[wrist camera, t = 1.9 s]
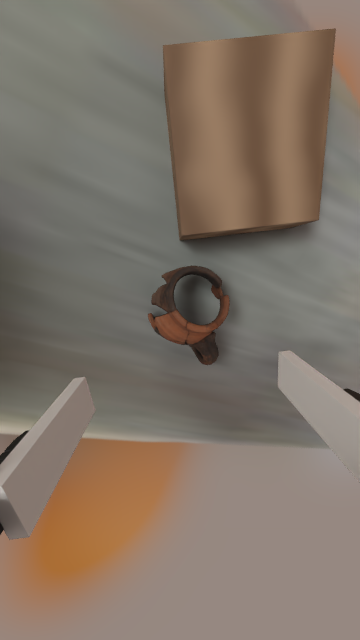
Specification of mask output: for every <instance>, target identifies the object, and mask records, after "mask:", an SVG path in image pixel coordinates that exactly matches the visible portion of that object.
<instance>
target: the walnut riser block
mask: <svg viewBox="0 0 360 640" xmlns="http://www.w3.org/2000/svg"><path fill="white" fill-rule="evenodd" d="M335 31H336V29H326V30H316V31H305V32H295V33H285V34H275V35H264V36H254V37H244V38H234V39H224V40H213V41H203V42H193V43H183V44H172V45H163V60H164V92H165V103H166V113H167V122H168V132H169V142H170V151H171V161H172V171H173V180H174V190H175V200H176V209H177V219H178V229H179V238H180V240H189V239H197V238H206V237H215V236H224V235H232V234H241V233H250V232H259V231H267V230H276V229H285V228H292V227H296V226H299V225H303V224H306V223H310V222H313V221H317V220H319V212H320V200H321V189H322V178H323V167H324V155H325V144H326V133H327V122H328V111H329V99H330V88H331V77H332V66H333V54H334V42H335Z"/></svg>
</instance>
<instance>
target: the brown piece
mask: <svg viewBox="0 0 360 640" xmlns="http://www.w3.org/2000/svg"><path fill="white" fill-rule="evenodd" d="M191 274H192V275H199V276H202V277H204V278H206V279H207V280H209V281H210V282H211V283H212V284H213V285H212V288H211V291H212V293H213V294H214V295H215V297H216V298H217V299H220V311H219V314H218V316H217V317H216V319H215V320H214V321H212V322H211V323H209V324H206V325H196V324H193V323H191V322H189V321H187V320H186V319H185V318H183V317H182V315H181V314H180V313H179V311H178V310H177V309H176V306H175V303H174V298H173V294H174V288H175V285H176V283H177V282H178V281H179V280H180V279H181V278H182V277H184V276H186V275H191ZM162 278H164V279H165V281H166V282H167V284H165V285H162V286H161V287H159V288H158V289H157V291H156V293H154V294H153V295H152V301H151V302H152V304H153V305H157V306H159V307H161V308H162V309H164V310H165V311H166V312H168V313H167V314H164V315H162V316H158V317H155V320H154V318H153V315H152V314H151V313H150V314H148V318H149V321H150V323H151V325H152V327H153V329H154V330H155V332H156V333H158V334H159V335H161V336H162V337H163V338H165V339H167V340H169V341H172V342H174V343H177V344H181V345H185V344H186V345H190V346H191V347H192V349H193V351H194V353H195V355H196V356H197V358H198V359H199V361H200V362H201V363H202V364H205V365H211V364H212V363H213V362H215V361H216V360H217V357H218V348H217V345H216V343H215V334H216V333H215V332H213V330H215V329H217V328H218V327H219V326H220V325H221V324H222V323H223V321H224V320H225V319H226V317H227V315H228V311H229V305H230V304H229V296H228V295H225V296H223V293H222V290H221V288H220V287H221V286H222V280H221V279H220V278H219V276H217V275H216V274H215V273H214V272H212V271H211V270H209V269H207V268H204V267H200V266H199V267H198V266H187V267H182V268H178V269H176V270H173V271H170V272H168V273H165V274H164V275H162Z"/></svg>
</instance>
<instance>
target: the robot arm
mask: <svg viewBox="0 0 360 640" xmlns="http://www.w3.org/2000/svg"><path fill="white" fill-rule="evenodd" d="M278 388H279V389H280V390H281V391H282V392H283V393H284V395H285V396H286V397H287V398H288V399H289V400H290V402H291V403H292V404H293V405H294V406H295V408H296V409H297V410H298V411H299V412H300V413H301V415H302V416H303V417H304V418H305V419H306V420H307V422H308V423H309V424H310V425H311V426H312V427H313V429H314V430H315V431H316V432H317V433H318V434H319V436H320V437H321V438H322V439H323V440H324V441H325V443H326V444H327V445H328V446H329V447H330V448H331V450H332V451H333V452H334V453H335V454H336V455H337V456H338V458H339V459H340V460H341V461H342V462H343V464H344V465H345V466H346V467H347V468H348V470H349V471H351V473H352V474H353V475H354V477H355V478H356V479H357V480H358V481H359V482H360V394H359V393H357V392H354V391H352V390H350V389H341V388H340V387H339V386H337V385H336V384H335V383H333V382H332V381H331V380H329V379H328V378H327V377H325V376H324V375H322V374H321V373H320V372H318V371H317V370H316V369H314V368H313V367H312V366H310V365H309V364H308V363H306V362H305V361H304V360H302V359H301V358H299V357H298V356H297V355H295V354H294V353H293V352H291V351H282V352H279V360H278ZM94 412H95V407H94V404H93V400H92V397H91V394H90V391H89V387H88V384H87V381H86V377H81V378H74V379H73V380H72V381H71V383H70V384H69V385H68V386H67V387H66V388H65V390H64V391H63V392H62V393H61V394H60V395H59V397H58V398H57V399H56V400H55V401H54V402H53V404H52V405H51V406H50V407H49V408H48V409H47V411H46V412H45V413H44V414H43V415H42V416H41V418H40V419H39V420H38V421H37V422H36V423H35V425H34V426H33V427H32V428H31V429H30V430H29V431H25V432H24V433H23V434H21V435H20V436H19V437H17V438H16V439H15V440H14V441H13V442H12V443H11V444H10V445H9V446H8V447H7V449H6V450H5V452H4V453H2V454H1V455H0V534H1V533H2V531H3V530H4V531H5V533H6V535H7V536H8V538H9V539H18V538H25V537H30V535H31V533H32V531H33V529H34V527H35V525H36V523H37V521H38V519H39V517H40V516H41V514H42V512H43V510H44V508H45V506H46V504H47V502H48V500H49V498H50V496H51V494H52V493H53V490H54V489H55V487H56V485H57V483H58V481H59V479H60V477H61V475H62V473H63V472H64V470H65V468H66V466H67V464H68V462H69V460H70V458H71V456H72V454H73V452H74V451H75V449H76V447H77V445H78V443H79V441H80V439H81V437H82V435H83V433H84V431H85V429H86V428H87V426H88V424H89V422H90V420H91V418H92V416H93V414H94Z"/></svg>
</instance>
